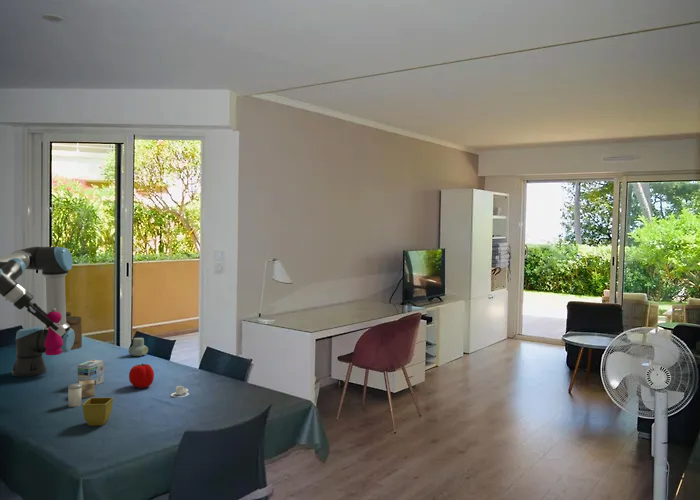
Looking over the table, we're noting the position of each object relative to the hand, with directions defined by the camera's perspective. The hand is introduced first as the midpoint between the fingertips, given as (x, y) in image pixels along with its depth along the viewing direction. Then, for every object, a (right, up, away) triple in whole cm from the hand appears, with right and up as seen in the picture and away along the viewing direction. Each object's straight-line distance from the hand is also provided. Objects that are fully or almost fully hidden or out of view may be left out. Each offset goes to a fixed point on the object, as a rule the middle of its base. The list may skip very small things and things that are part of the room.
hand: (63, 333), depth 244 cm
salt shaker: (+9, -29, -8) cm, 32 cm away
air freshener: (+1, -26, +83) cm, 87 cm away
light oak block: (+8, -29, +6) cm, 30 cm away
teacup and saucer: (+51, -30, +10) cm, 60 cm away
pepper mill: (-3, -9, -1) cm, 10 cm away
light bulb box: (+2, -28, +22) cm, 36 cm away
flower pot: (+29, -31, -29) cm, 51 cm away
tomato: (+27, -29, +21) cm, 44 cm away
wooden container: (-48, -24, +100) cm, 114 cm away
